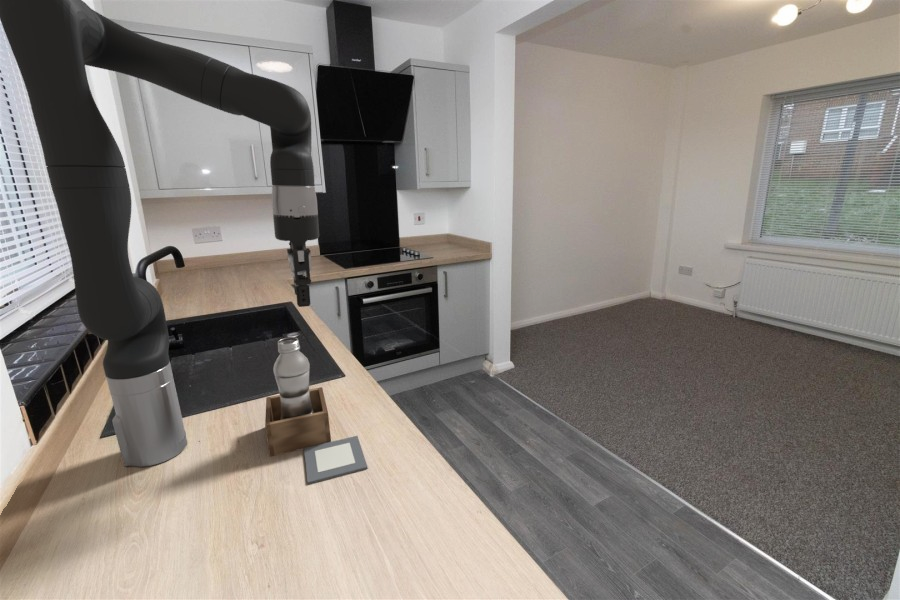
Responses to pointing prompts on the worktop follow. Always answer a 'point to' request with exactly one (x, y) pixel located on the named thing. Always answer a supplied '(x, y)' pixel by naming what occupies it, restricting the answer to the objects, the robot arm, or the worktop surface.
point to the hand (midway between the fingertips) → (302, 300)
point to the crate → (297, 425)
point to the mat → (334, 459)
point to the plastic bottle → (292, 379)
